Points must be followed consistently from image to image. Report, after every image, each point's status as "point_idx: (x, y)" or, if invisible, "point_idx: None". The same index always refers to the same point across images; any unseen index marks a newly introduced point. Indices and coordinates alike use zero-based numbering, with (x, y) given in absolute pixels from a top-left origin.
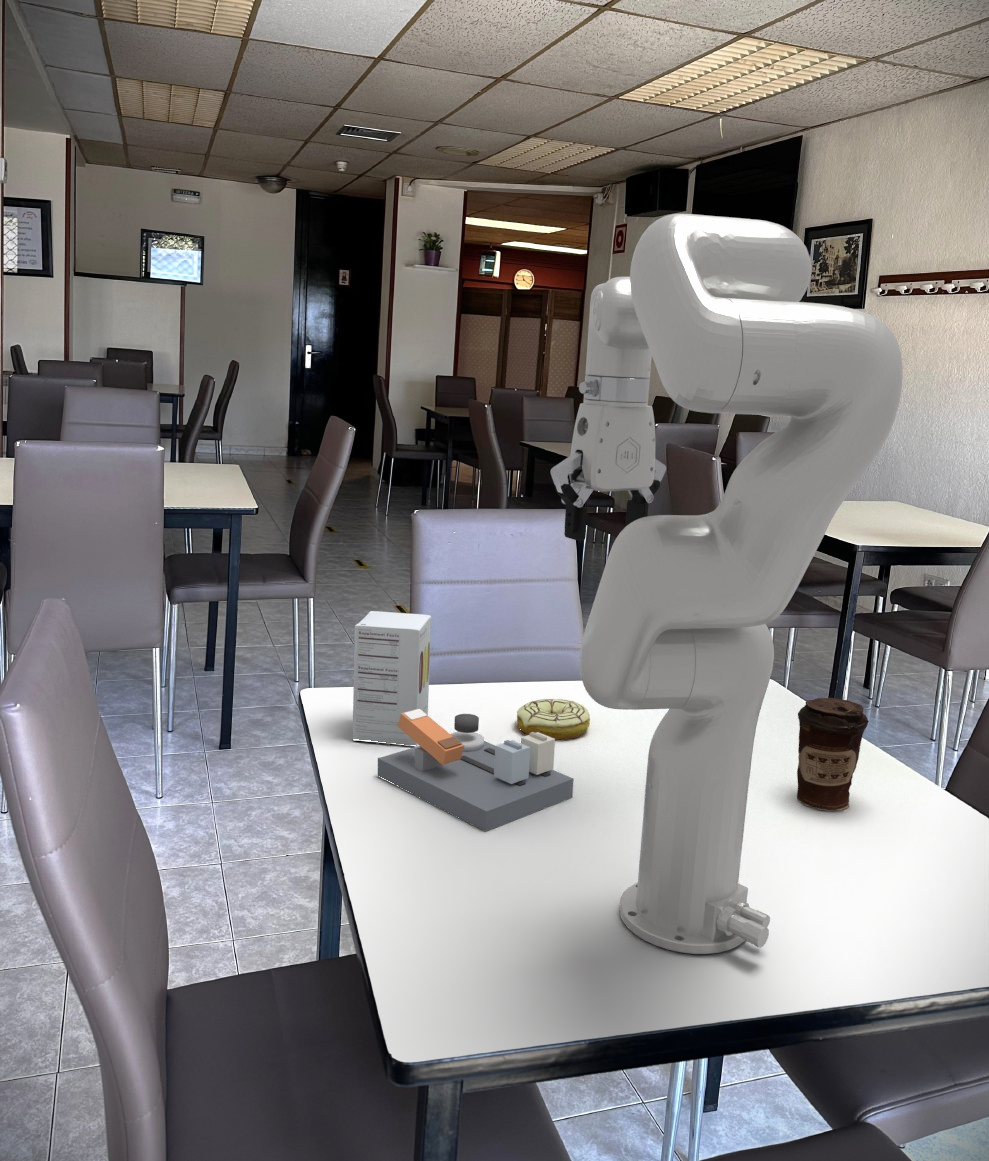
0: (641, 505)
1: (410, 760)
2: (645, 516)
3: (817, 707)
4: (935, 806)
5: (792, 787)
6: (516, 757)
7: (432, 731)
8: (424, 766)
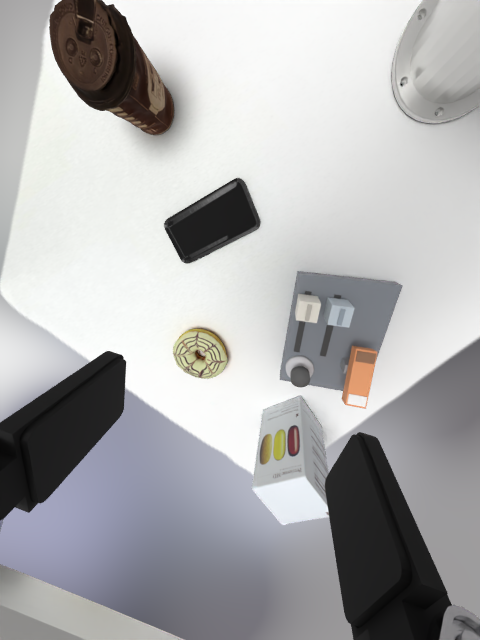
0: (34, 441)
1: None
2: (66, 388)
3: (104, 62)
4: None
5: (149, 149)
6: (348, 305)
7: (363, 376)
8: None
